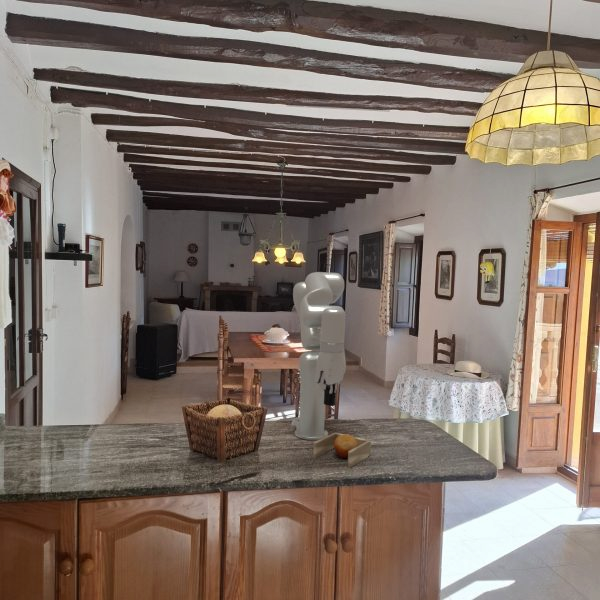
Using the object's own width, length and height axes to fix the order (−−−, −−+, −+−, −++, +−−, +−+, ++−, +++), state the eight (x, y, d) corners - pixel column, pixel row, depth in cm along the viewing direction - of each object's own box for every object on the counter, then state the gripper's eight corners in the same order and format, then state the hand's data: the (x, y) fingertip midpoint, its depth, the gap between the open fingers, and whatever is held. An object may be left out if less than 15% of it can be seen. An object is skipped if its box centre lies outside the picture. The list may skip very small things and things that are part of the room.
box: (313, 457, 169) (313, 442, 169) (334, 446, 181) (335, 432, 180) (350, 467, 161) (351, 452, 161) (370, 455, 173) (370, 440, 173)
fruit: (354, 446, 178) (357, 430, 173) (357, 465, 171) (360, 449, 167) (331, 445, 177) (333, 430, 173) (333, 464, 170) (335, 448, 166)
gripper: (334, 343, 169) (331, 398, 170) (308, 348, 157) (306, 407, 158) (354, 346, 165) (351, 402, 166) (329, 352, 152) (326, 412, 154)
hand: (329, 404), depth 162 cm, fingers closed
